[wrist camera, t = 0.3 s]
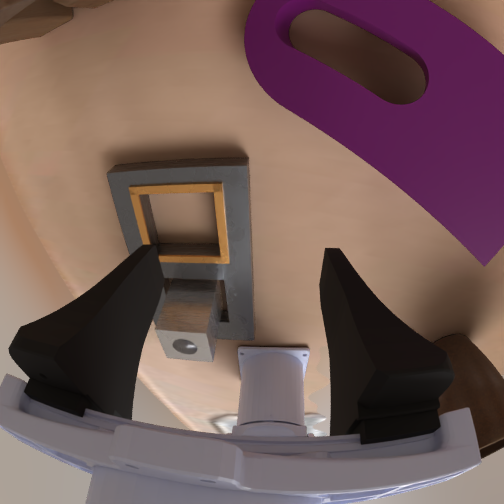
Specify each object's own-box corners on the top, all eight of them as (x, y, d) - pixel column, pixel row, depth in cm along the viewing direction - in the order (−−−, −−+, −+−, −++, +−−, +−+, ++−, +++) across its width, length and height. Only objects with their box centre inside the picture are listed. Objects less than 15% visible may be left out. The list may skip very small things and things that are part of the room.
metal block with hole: (222, 304, 29) (213, 362, 24) (182, 302, 29) (167, 358, 24) (218, 273, 27) (205, 334, 22) (175, 272, 27) (154, 330, 22)
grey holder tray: (255, 328, 31) (254, 342, 30) (162, 323, 32) (158, 335, 30) (248, 157, 20) (246, 167, 19) (115, 165, 21) (105, 174, 19)
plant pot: (507, 306, 28) (552, 413, 15) (464, 370, 37) (487, 458, 24) (412, 320, 29) (448, 459, 17) (381, 384, 38) (395, 487, 26)
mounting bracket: (275, 83, 22) (460, 219, 19) (217, 71, 15) (483, 267, 13) (330, -8, 16) (525, 129, 14) (292, -57, 10) (577, 137, 7)
